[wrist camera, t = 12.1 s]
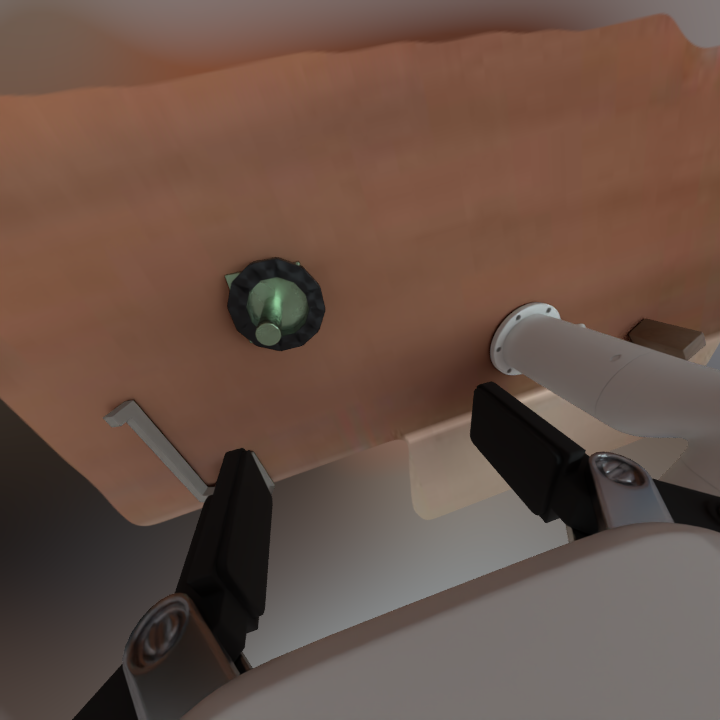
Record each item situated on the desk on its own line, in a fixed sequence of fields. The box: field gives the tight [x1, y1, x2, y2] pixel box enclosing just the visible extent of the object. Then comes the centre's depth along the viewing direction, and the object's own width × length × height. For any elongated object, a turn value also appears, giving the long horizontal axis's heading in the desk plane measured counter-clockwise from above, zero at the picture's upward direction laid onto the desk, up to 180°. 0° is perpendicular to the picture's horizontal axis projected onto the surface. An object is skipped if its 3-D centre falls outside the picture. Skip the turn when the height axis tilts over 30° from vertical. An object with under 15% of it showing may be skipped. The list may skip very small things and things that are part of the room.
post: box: [225, 261, 308, 346], centre depth 26 cm, size 8×8×11 cm
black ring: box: [227, 257, 325, 351], centre depth 29 cm, size 10×10×2 cm
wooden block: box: [629, 319, 706, 360], centre depth 46 cm, size 4×4×8 cm
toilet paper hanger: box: [103, 400, 275, 502], centre depth 35 cm, size 23×9×8 cm, turn 13°
